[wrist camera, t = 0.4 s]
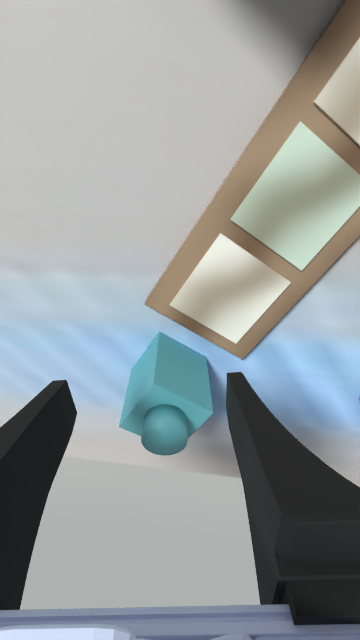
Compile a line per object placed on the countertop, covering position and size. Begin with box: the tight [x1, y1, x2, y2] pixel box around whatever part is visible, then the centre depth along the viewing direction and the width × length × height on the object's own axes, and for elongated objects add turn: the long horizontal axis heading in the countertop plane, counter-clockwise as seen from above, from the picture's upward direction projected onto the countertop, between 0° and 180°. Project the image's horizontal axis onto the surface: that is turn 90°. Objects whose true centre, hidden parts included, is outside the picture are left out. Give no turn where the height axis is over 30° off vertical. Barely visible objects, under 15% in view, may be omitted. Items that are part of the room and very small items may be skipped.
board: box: [145, 0, 360, 360], centre depth 18 cm, size 9×22×1 cm, turn 147°
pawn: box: [119, 332, 213, 455], centre depth 21 cm, size 4×4×8 cm
